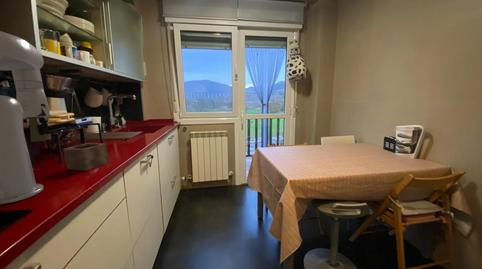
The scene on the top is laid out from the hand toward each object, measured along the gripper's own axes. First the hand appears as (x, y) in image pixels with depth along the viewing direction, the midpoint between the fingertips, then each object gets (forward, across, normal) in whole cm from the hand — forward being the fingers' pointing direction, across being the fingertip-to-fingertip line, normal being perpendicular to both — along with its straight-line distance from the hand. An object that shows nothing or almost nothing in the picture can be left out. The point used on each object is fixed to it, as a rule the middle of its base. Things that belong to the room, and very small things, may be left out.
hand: (40, 134), depth 83 cm
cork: (+2, 0, 0) cm, 2 cm away
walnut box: (+17, +6, +12) cm, 22 cm away
